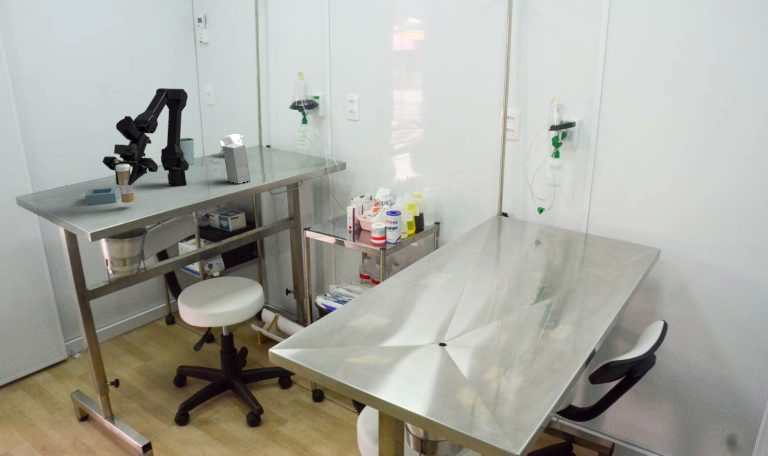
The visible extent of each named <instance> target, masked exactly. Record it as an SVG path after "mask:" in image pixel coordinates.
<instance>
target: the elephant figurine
mask: <svg viewBox="0 0 768 456" xmlns="http://www.w3.org/2000/svg"><path fill="white" fill-rule="evenodd" d="M243 138H244V135H241V134H238V133H233V134H227V135H225V136H223V137H222V138H220V140H219V145H220V148H221V149H220V151H219V154H223V156H224V152H223V146H225V145H230V144H240V145H243Z"/></svg>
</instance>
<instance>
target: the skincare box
mask: <svg viewBox="0 0 768 456" xmlns="http://www.w3.org/2000/svg"><path fill="white" fill-rule="evenodd" d="M223 152H224V155H223V158H224V164H225V169H226V170H225V171H226V178H227V182H228V181H230V182H229V183H232V182H234V184H237V183H238V184H237V185H240V184H239V183H241V184H243V182H245V183H248V182H247V181H250V182H252V181H251V174H250V169H249V161H248V155H247V153H248V152H247V147H246V145H245V144H242V145H240V144H230V145H225V146H223ZM223 152H222V153H223Z"/></svg>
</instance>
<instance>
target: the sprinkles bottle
mask: <svg viewBox="0 0 768 456" xmlns="http://www.w3.org/2000/svg"><path fill="white" fill-rule="evenodd" d="M116 171H117V175H118V182H119V185H118V186H119V187H118V188H119V193H120V199H121V203H124V204H125V203H126V204H128V203H133V202H135V201H136V198H135V195H134V187H133V184H132V185H128V181H129V178H130V175H131V167H130V165H129V164H119V165H116Z"/></svg>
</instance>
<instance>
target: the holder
mask: <svg viewBox="0 0 768 456" xmlns="http://www.w3.org/2000/svg"><path fill="white" fill-rule="evenodd" d="M118 188H119V187H118V186H110V187H108V186H107V187H97V188H89V189H87V191H86V193H85V195H84V198H85V203H86V206H91V205H102V204H103V205H104V204H111V203H115V204H116V203H117V202H118V198H119V197H120V195H119V189H118Z"/></svg>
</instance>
